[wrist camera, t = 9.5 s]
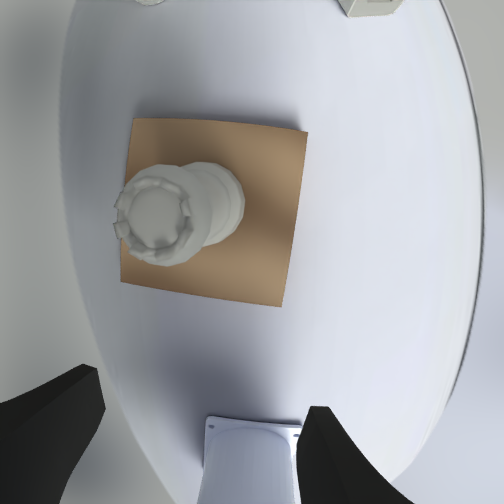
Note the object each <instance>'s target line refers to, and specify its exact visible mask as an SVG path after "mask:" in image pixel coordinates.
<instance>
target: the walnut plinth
mask: <svg viewBox="0 0 504 504" xmlns="http://www.w3.org/2000/svg"><path fill="white" fill-rule="evenodd" d="M307 136H308V132H304V131H298V130H292V129H286V128H279V127H272V126H264V125H256V124H247V123H238V122H227V121H215V120H199V119H177V118H134V119H133V125H132V131H131V137H130V144H129V152H128V159H127V168H126V177H125V185H126V184H127V183H128V182H129V181H130V180H131V179H132V178H133V177H134V176H135V175H136V174H137V173H138V172H139V171H141V170H144V169H146V168H149V167H152V166H154V165H157V164H161V165H175V166H178V167H182V166H185V165H188V164H191V163H194V162H209V163H217V164H219V165H220V166H222V167H224V168H226V169H228V170H230V171H231V172H232V173H233V175H234V176H235V177H236V179H237V180H238V181H239V182H240V184H241V186H242V190H243V194H244V197H245V206H244V214H243V218H242V220H241V221H240V223H239V225H238V226H237V228H236V230H235V231H234V232H233V233H232V234H230V235H229V236H228V237H226V238H225V239H224V240H222V241H221V242H219V243H216V244H212V245H209V246H205V247H202V248H201V250H200V251H199V252H197V253H196V254H195V255H194V256H192V257H191V258H190V259H189V260H187V261H186V262H183V263H180V264H176V265H172V266H168V267H167V266H160V265H154V264H149V263H147V262H146V261H144V260H143V259H142V260H139V259H137V258H136V257H134V256H133V255H131V254H129V253H128V250H129V249H130V248H129V247H128V246H127V244H126V243H125V242H124V240H123V239H122V238H121V282H124V283H129V284H134V285H140V286H145V287H151V288H156V289H162V290H167V291H173V292H179V293H185V294H191V295H197V296H204V297H210V298H217V299H223V300H230V301H237V302H244V303H252V304H259V305H267V306H275V307H282V301H283V296H284V290H285V284H286V279H287V273H288V267H289V261H290V255H291V249H292V242H293V236H294V230H295V223H296V217H297V210H298V203H299V196H300V189H301V182H302V175H303V167H304V160H305V152H306V144H307ZM124 188H125V187H124Z"/></svg>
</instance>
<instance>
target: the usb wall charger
mask: <svg viewBox="0 0 504 504" xmlns="http://www.w3.org/2000/svg"><path fill="white" fill-rule="evenodd" d="M338 1H339V3H340V4H341V6H342V8H343V9H344V11H345V12H346V14H347V16H348V17H349V18H357V17H371V16H388V15H391V14H393V13H395V12H396V10H397V9H398V8H399V7H400V6H401V4H402V3H403V2H404V1H405V0H338Z"/></svg>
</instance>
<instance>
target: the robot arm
mask: <svg viewBox="0 0 504 504" xmlns="http://www.w3.org/2000/svg"><path fill="white" fill-rule="evenodd" d="M105 409H106V408H105V403H104V399H103V395H102V390H101V387H100V381H99V376H98V371H97V368H94V367H91V366H88V365H85V364H81V365H79V366H77V367H75V368H73V369H71V370H69V371H68V372H66V373H64V374H62V375H60V376H58V377H56V378H54V379H53V380H51V381H49V382H47V383H45V384H43V385H41V386H39V387H37V388H35V389H33V390H31V391H29V392H26V393H24V394H22V395H20V396H17V397H15V398H13V399H11V400H8V401H5V402H2V403H0V504H59V503H60V500H61V497H62V494H63V491H64V489H65V486H66V484H67V481H68V479H69V477H70V475H71V473H72V471H73V470H74V468H75V466H76V465H77V463H78V461H79V460H80V458H81V456H82V455H83V453H84V451H85V449H86V448H87V446H88V445H89V443H90V441H91V440H92V438H93V436H94V434H95V433H96V431H97V429H98V426H99V424H100V422H101V419H102V417H103V414H104V412H105ZM295 452H296V465H297V476H298V483H299V490H300V497H301V504H414V503H413V502H411V501H410V500H408V499H407V498H406V497H404V496H403V495H402V494H401V493H400V492H399V491H397V490H396V489H395V488H394V487H393V486H392V485H391V484H390V483H389V482H388V481H387V480H386V479H385V478H384V477H383V476H382V475H381V474H380V473H379V472H378V471H377V470H376V469H375V468H374V467H373V466H372V465H371V463H370V462H369V461H368V460H367V459H366V457H365V456H364V455H363V454H362V452H361V451H360V450H359V449H358V447H357V446H356V445H355V443H354V442H353V441H352V439H351V438H350V437H349V435H348V434H347V433H346V431H345V430H344V428H343V427H342V425H341V424H340V422H339V421H338V420H337V418H336V417H335V415H334V414H333V412H332V411H331V409H330V408H329V407H324V406H310V409H309V411H308V414H307V417H306V420H305V422H304V425H303V426H301V425H287V424H273V423H262V422H252V421H243V420H235V419H228V418H221V417H215V416H208V417H207V419H206V425H205V444H204V466H203V477H202V482H201V487H200V492H199V496H198V501H197V504H295V500H294V485H293V471H292V460H293V457H294V455H295Z"/></svg>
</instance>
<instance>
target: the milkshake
mask: <svg viewBox="0 0 504 504" xmlns="http://www.w3.org/2000/svg"><path fill="white" fill-rule="evenodd" d="M136 1H137V2H139V3H141V4H143V5H144V6H147V5H154V4H159V3H160V2H162V1H164V0H136Z"/></svg>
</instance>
